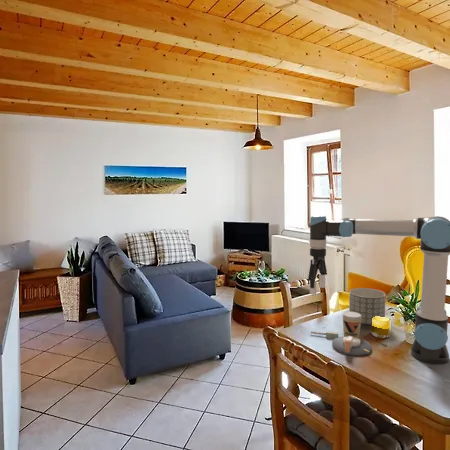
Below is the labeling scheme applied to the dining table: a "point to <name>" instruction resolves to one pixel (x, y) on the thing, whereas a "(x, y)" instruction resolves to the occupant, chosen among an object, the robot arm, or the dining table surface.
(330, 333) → the screwdriver
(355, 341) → the cream rounded piece
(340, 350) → the dark grey round plate
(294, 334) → the dining table surface
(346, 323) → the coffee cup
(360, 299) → the planter
